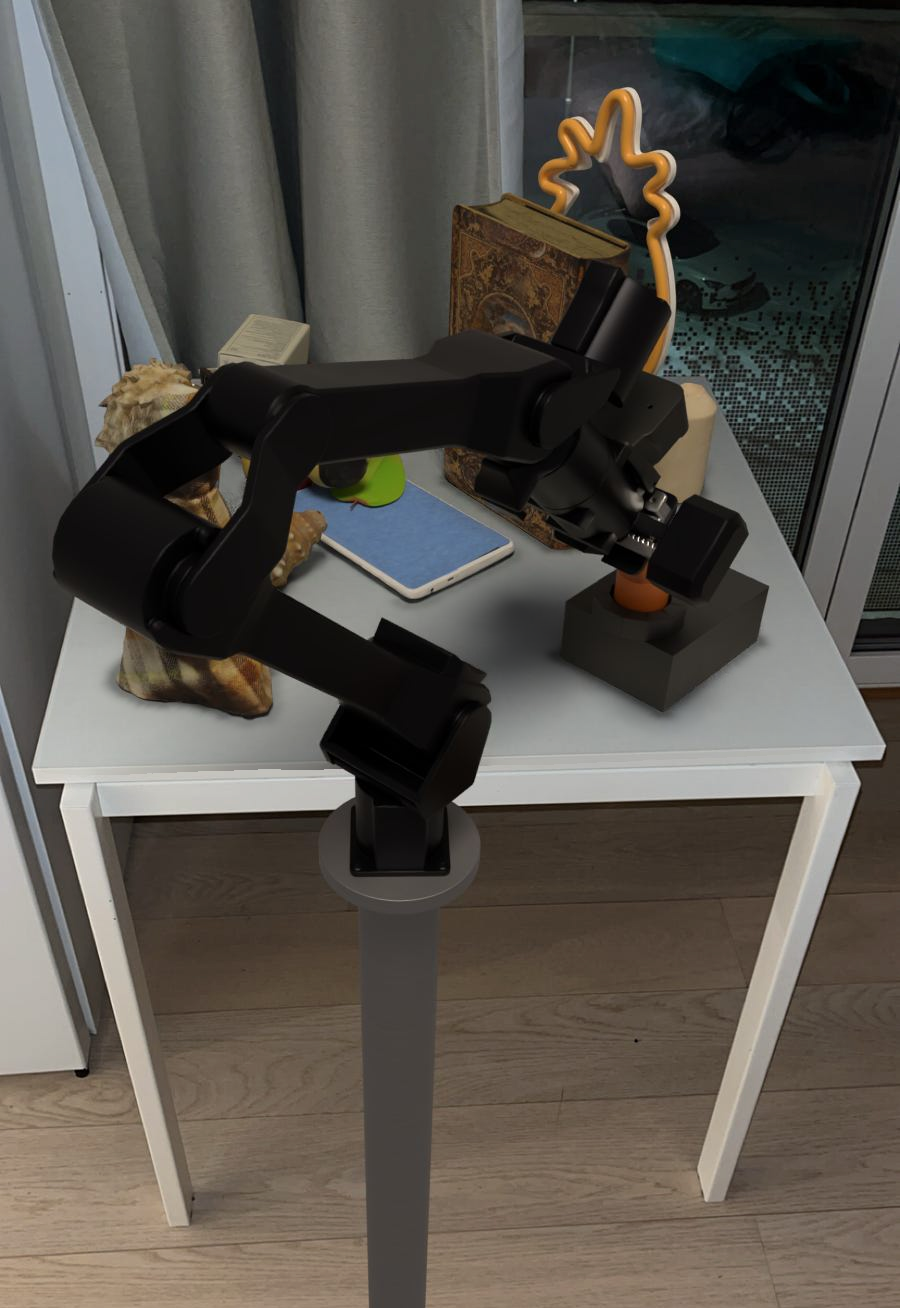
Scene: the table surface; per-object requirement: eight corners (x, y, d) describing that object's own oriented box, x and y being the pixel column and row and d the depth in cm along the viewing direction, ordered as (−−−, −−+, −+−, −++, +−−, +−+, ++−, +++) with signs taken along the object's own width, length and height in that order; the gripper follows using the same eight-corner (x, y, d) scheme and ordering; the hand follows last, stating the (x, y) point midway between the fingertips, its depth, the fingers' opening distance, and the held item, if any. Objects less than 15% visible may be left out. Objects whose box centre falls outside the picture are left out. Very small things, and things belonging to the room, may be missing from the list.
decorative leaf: (423, 495, 115) (423, 504, 116) (396, 444, 121) (396, 453, 121) (339, 508, 113) (340, 517, 114) (316, 455, 119) (316, 464, 120)
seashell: (250, 577, 114) (299, 481, 109) (296, 634, 110) (349, 537, 105) (163, 566, 107) (212, 463, 102) (209, 626, 103) (261, 522, 98)
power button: (646, 620, 94) (651, 590, 92) (602, 598, 96) (606, 569, 94) (677, 598, 96) (683, 569, 94) (634, 577, 98) (639, 548, 96)
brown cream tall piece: (84, 737, 91) (112, 397, 76) (66, 633, 100) (88, 314, 86) (278, 738, 96) (339, 421, 81) (243, 640, 106) (292, 340, 91)
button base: (655, 717, 96) (669, 641, 91) (551, 661, 101) (559, 585, 96) (757, 640, 104) (774, 566, 99) (656, 591, 108) (668, 518, 104)
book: (605, 535, 115) (642, 248, 98) (560, 554, 112) (590, 263, 95) (488, 462, 124) (503, 189, 107) (443, 479, 122) (451, 201, 105)
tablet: (518, 553, 112) (520, 540, 111) (411, 606, 105) (411, 592, 104) (374, 470, 122) (374, 457, 121) (268, 513, 116) (267, 500, 115)
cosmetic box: (248, 355, 129) (214, 398, 120) (250, 310, 126) (215, 351, 117) (309, 367, 129) (280, 411, 119) (313, 322, 126) (283, 364, 117)
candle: (683, 510, 119) (700, 408, 112) (632, 491, 121) (646, 390, 114) (711, 487, 122) (730, 387, 115) (661, 469, 124) (677, 369, 118)
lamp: (490, 426, 130) (509, 74, 108) (551, 401, 134) (582, 59, 113) (612, 490, 121) (660, 121, 99) (674, 462, 125) (732, 103, 104)
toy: (337, 443, 122) (405, 478, 116) (254, 513, 119) (320, 552, 113) (302, 362, 115) (373, 395, 109) (213, 434, 112) (281, 472, 106)
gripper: (762, 398, 74) (818, 501, 88) (517, 306, 83) (602, 412, 97) (663, 567, 75) (734, 643, 89) (431, 457, 84) (527, 542, 98)
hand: (647, 553), depth 93 cm, fingers closed
